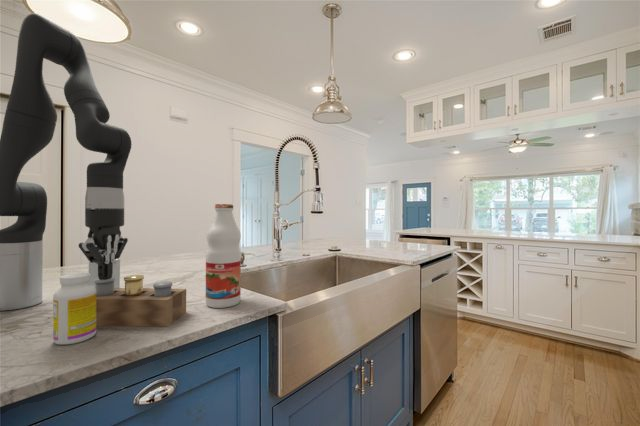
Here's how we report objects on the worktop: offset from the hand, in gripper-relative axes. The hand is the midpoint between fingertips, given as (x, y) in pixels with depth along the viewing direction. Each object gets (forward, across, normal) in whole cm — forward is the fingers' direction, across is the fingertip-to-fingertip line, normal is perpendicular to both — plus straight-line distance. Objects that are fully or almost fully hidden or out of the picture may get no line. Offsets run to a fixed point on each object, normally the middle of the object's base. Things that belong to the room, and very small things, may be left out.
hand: (105, 278), depth 68 cm
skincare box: (+10, -11, -9) cm, 17 cm away
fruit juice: (+10, -12, +24) cm, 29 cm away
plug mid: (+6, 0, +7) cm, 9 cm away
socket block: (+10, 0, +7) cm, 12 cm away
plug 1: (+7, 0, 0) cm, 7 cm away
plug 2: (+8, 0, +14) cm, 16 cm away
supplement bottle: (+10, +11, +2) cm, 15 cm away
